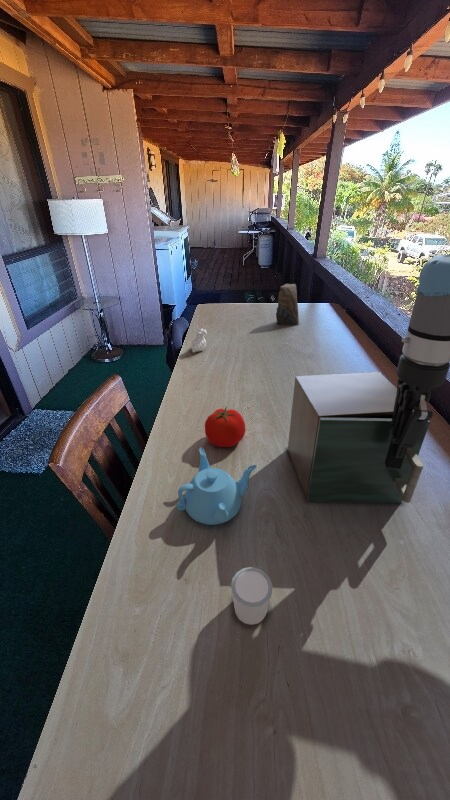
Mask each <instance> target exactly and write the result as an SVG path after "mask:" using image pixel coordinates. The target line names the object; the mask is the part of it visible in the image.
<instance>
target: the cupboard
mask: <svg viewBox="0 0 450 800" xmlns="http://www.w3.org/2000/svg"><path fill="white" fill-rule="evenodd" d="M396 394H397V386H395V385H394V384H393V383H392V382H390V380H388V378H387V377H385V376H384V375H383V374H382V373H381V372H380V371H371V372H351V373H350V372H349V373H331V374H311V375H310V374H309V375H295V377H294V385H293V394H292V404H291V415H290V422H289V433H288V442H287V451H288V454H289V457H290V459H291V463H292V465H293V467H294V469H295V472H296V475H297V477H298V479H299V482H300V485H301V487H302V490H303V493H304V495H305V497H306V498H307V495H308V489H309V482H310V476H311V469H312V463H313V457H314V450H315V444H316V438H317V431H318V425H319V418H387V419H392V415H393V410H394V405H395V399H396Z"/></svg>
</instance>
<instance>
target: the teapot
mask: <svg viewBox="0 0 450 800" xmlns="http://www.w3.org/2000/svg"><path fill="white" fill-rule="evenodd" d="M198 451H199V452H198V453H199V459H200V460H199V466H198V472H197V473H196V475H194V476H193V478H192V479H191V480H190V482H189V483H185V484H182V485H181V486H180V487H179V488H178V491H177V496H178V498H179V501H177V502H176V505H175V506H176V509H177V510H178V511H186V513H187V514H188V516H189V517H190V518H191V519H193V520H194V521H195V522H198V523H200V524H203V525H208V526H215V525H221V524H224V523H226V522H228V521H230V520H231V519H233V518H234V517H235V516H236V515H237V514H238V512H239V511H240V510H241V505H242V497H243V496H244V495H245V494H246V492H247V491H248V490H249V489H248V488H249V483H250V477H251V474H252V473H253V471H255V469H256V468H257V465H256V464H252V465H250V466H248V467H247V468H245V470H244V471H243V473H242V476H241V477H240V479H239V480H238V481H235V480H234V478H233V477H232V476H231V475H230V474H229V473H228V472H226V471H225V470H224V469H222V468H218V467H211V466H210V464H209V461H208V458H207V453H206V451H205V449H204V447H199V449H198ZM183 492H184V496H183Z"/></svg>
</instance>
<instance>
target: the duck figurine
mask: <svg viewBox="0 0 450 800" xmlns="http://www.w3.org/2000/svg"><path fill="white" fill-rule="evenodd" d="M194 334H195V336H196V337H194V338H193V340H192V343H191V352H192V353H197V352H203V351H204V350H205V349H206V347H207V340H206V339H205V337H206V336H208V332H207V330H206V329H205V328H199V329H197V331H196V332H195V333H194Z"/></svg>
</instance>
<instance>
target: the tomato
mask: <svg viewBox="0 0 450 800" xmlns="http://www.w3.org/2000/svg"><path fill="white" fill-rule="evenodd" d="M227 407H228V405H226V406H225V408H217V409H216V410H214V412H212V414H209V416H207V418H206V419H205V422H204V434H205V436H206V438H207V440H208V441H209V443H211V445H214V446H215V447H219V448H231V447H234V446H235V445H237V444H238V443H239V442H241V441H242V440H243V438H244V436H245V434H246V423H245V420H244V417H243V416H242V414H241V413H240V412H238V410H236V409H231V408H230V409H227Z"/></svg>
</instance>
